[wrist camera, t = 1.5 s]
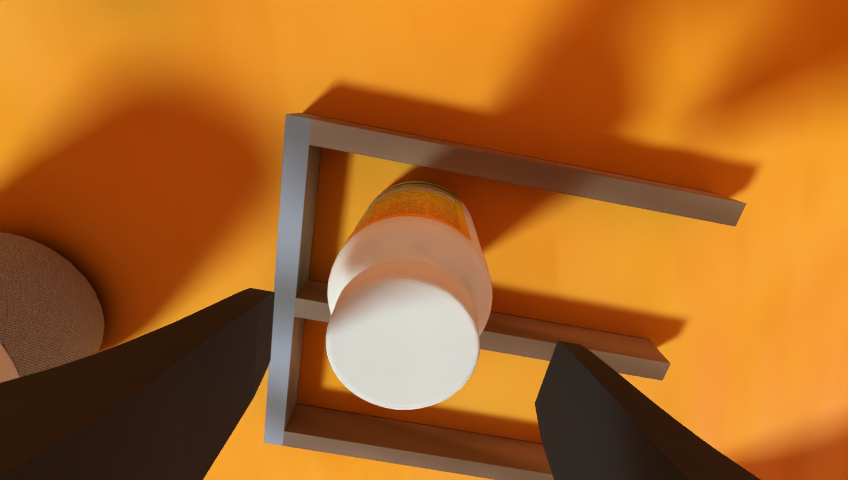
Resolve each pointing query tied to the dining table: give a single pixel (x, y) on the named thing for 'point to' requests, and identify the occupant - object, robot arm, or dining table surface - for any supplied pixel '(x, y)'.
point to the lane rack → (464, 451)
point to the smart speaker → (43, 309)
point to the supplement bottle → (408, 299)
